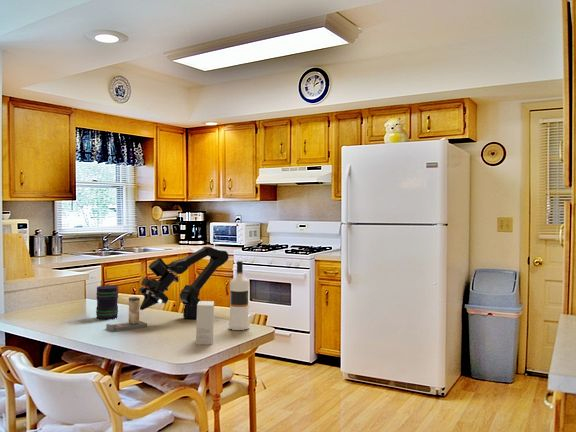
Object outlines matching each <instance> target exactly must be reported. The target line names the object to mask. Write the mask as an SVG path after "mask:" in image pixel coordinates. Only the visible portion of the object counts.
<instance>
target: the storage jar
mask: <svg viewBox="0 0 576 432" xmlns="http://www.w3.org/2000/svg"><path fill="white" fill-rule="evenodd" d="M118 298H119V286H118V285H100V286H96V302H97V303H96V307H95V308H96V309H95V310H96V311H95V312H96V314H95V315H96V320H98V319H99V321H109V320H108V319H112V320H116V319H118V318H117V317H119V316H118V314H119V306H118ZM115 318H116V319H115Z"/></svg>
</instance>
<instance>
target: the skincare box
mask: <svg viewBox="0 0 576 432" xmlns="http://www.w3.org/2000/svg"><path fill="white" fill-rule="evenodd" d="M214 319H215V301H214V300H200V301H199V302H198V304H197V319H196V323H195V324H196V331H195V332H196V333H195V345H197V346H200V345H201V346H202V345H203V346H205V345H208V346H209V345H210V344H211V346H212V345H213V342H214V341H213V340H214V323H215V321H214Z"/></svg>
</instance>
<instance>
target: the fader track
mask: <svg viewBox="0 0 576 432" xmlns="http://www.w3.org/2000/svg"><path fill="white" fill-rule="evenodd" d="M105 327H106V330H107V331H111V332H113V333H114V332H121V331H127V330H133V329H134V330H135V329H141V328H147V327H148V323H147V322H145V321H142V320H139V323H136V324H132V323H129V321H128V322H121V323H114V324H110V323H107V324H106V326H105Z"/></svg>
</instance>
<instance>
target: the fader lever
mask: <svg viewBox="0 0 576 432" xmlns="http://www.w3.org/2000/svg"><path fill="white" fill-rule="evenodd" d="M140 299H141V298H140V297H137V296H131V297H129V298H128V322H129V323H132V324H136V323H139V321H140V301H141V300H140Z"/></svg>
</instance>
